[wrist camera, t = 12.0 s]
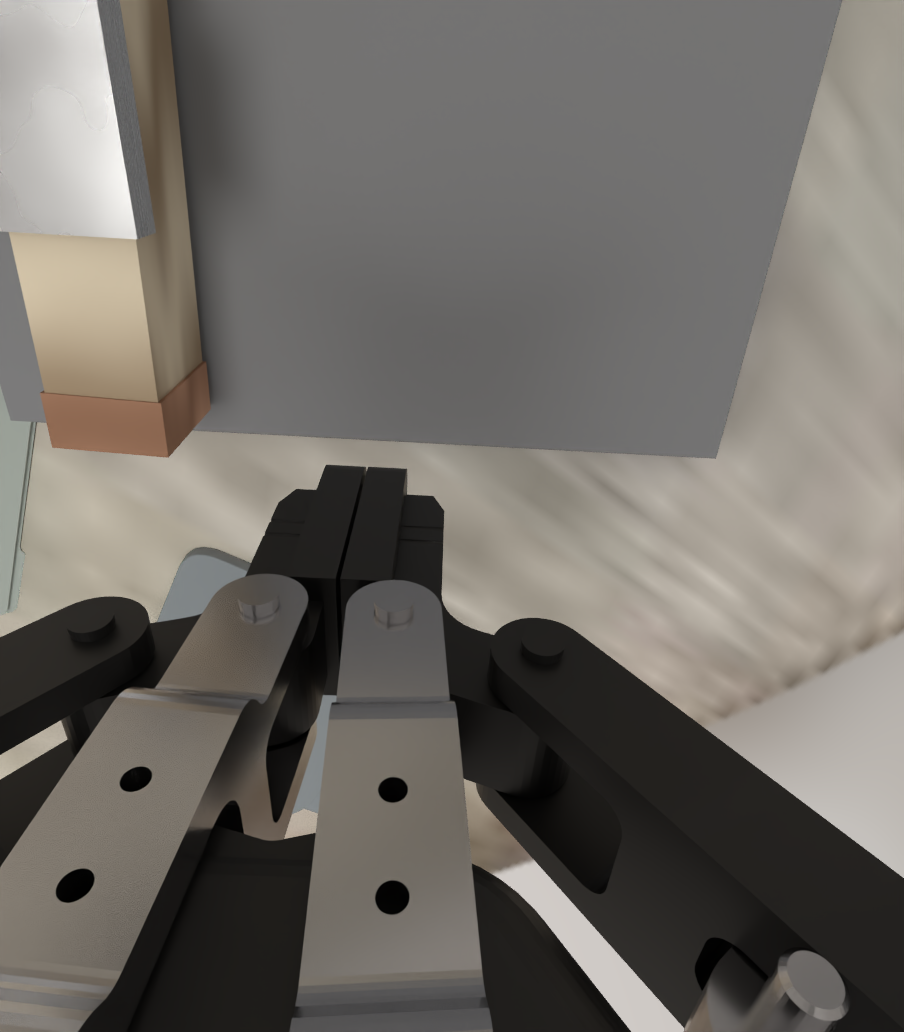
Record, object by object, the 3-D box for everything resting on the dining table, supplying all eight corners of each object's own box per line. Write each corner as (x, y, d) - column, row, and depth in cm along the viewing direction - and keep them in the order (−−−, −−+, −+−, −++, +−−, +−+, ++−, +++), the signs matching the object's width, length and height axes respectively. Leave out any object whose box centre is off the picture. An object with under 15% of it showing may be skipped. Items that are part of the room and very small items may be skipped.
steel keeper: (-56, -2, 17) (-283, -57, 12) (203, 14, 17) (91, -33, 12) (-5, 194, 19) (-175, 221, 14) (224, 208, 19) (137, 239, 14)
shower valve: (507, 704, 24) (337, 915, 30) (499, 607, 28) (354, 808, 35) (160, 563, 21) (58, 830, 28) (216, 481, 26) (117, 726, 32)
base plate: (-286, -703, 13) (-889, -1370, 7) (985, -602, 13) (1385, -1157, 7) (27, 409, 24) (-109, 499, 18) (706, 446, 24) (781, 545, 18)
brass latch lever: (-93, -597, 12) (-287, -848, 9) (150, -563, 12) (42, -800, 9) (93, 398, 22) (30, 445, 19) (229, 410, 22) (190, 459, 19)
